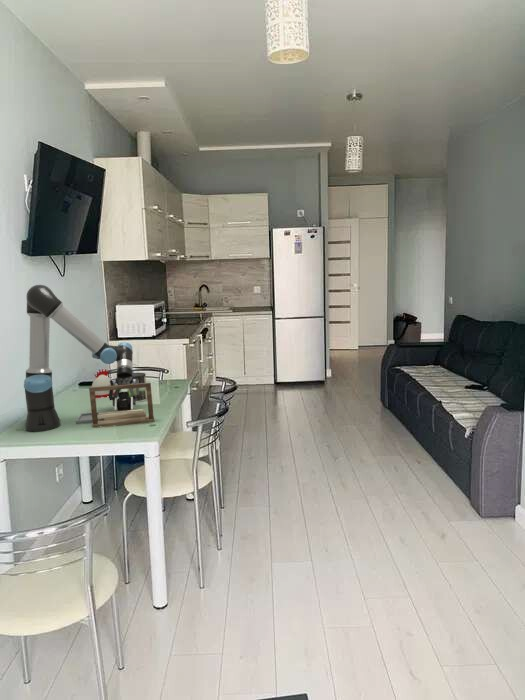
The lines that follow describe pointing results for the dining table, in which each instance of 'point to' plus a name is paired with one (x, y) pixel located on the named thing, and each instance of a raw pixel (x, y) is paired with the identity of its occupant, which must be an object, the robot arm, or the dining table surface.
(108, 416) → the offcut stack
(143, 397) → the coffee can
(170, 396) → the dining table surface
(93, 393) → the walnut rack
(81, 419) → the grey tray
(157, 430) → the dining table surface
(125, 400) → the supplement bottle
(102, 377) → the kitchen timer
